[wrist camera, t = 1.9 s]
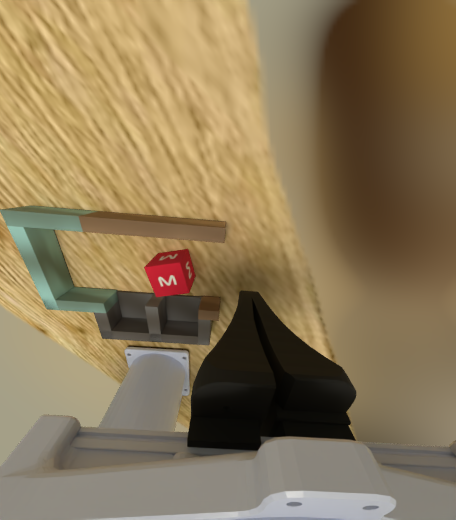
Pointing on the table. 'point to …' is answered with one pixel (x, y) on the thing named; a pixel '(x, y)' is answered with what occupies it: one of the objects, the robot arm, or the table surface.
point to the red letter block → (171, 273)
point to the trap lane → (106, 300)
